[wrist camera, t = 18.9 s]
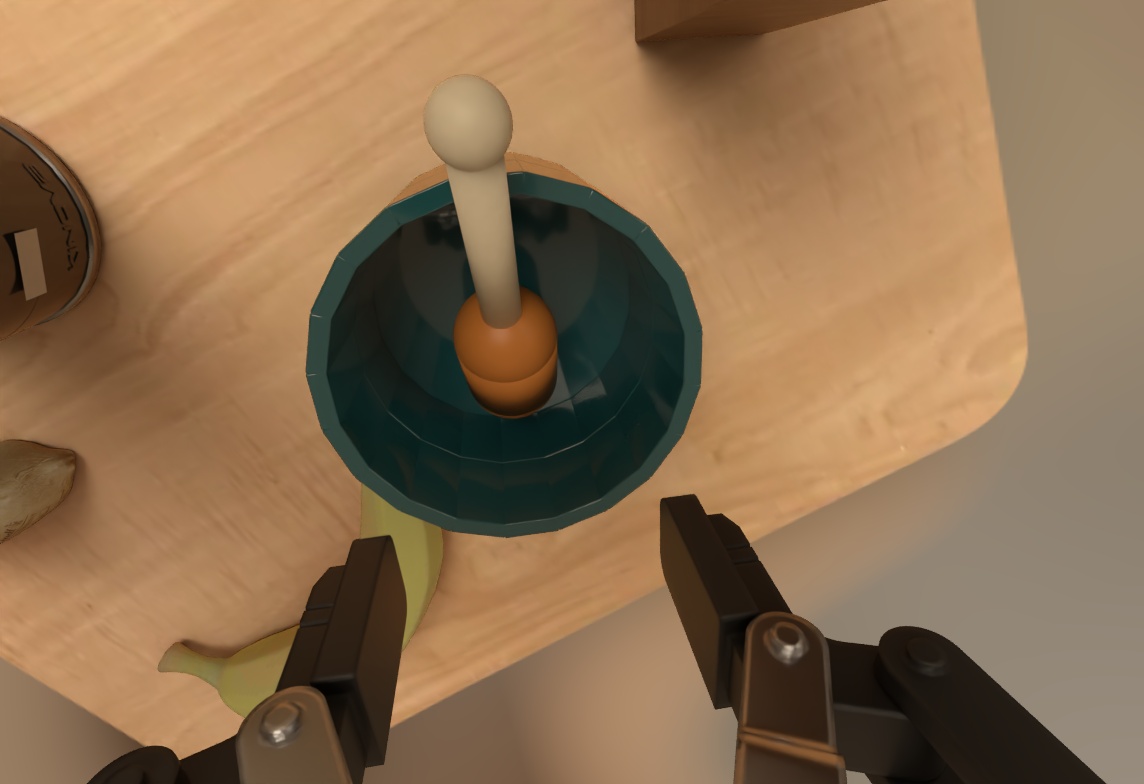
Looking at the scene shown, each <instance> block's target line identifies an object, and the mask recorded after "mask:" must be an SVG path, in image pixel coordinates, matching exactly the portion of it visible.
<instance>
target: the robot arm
mask: <svg viewBox="0 0 1144 784" xmlns="http://www.w3.org/2000/svg"><path fill="white" fill-rule="evenodd" d="M100 260H101V240H100V233H99V229H98V225H97V221H96V218H95V215H94V212H93V210H92V208H91V205H90V203H89V201H88V199H87V197H86V195H85V194H84V192H83V190H82V188H81V187H80V185H79V184H78V182H77V181H76V179H75V178H74V177H73V175H72V174H71V173H70V172H69V170H68V169H67V168H66V167H65V166H64V164H63V163H62V162H61V161H60V160H59V159H58V158H57V157H56V156H55V155H54V154H53V153H52V152H51V151H50V150H49V149H48V148H47V147H45V146H44V145H43V144H42V143H40V142H39V141H38V140H37V139H36V138H34V137H33V136H31V135H30V134H29V133H27V132H26V131H24V130H23V129H21V128H19V127H18V126H16V125H15V124H13V123H11V122H9V121H7V120H6V119H4V118H2V117H0V341H2V340H4V339H6V338H8V337H10V336H12V335H14V334H17V333H19V332H21V331H23V330H25V329H27V328H29V327H31V326H35V325H39V324H42V323H44V322H47V321H49V320H51V319H54V318H56V317H58V316H60V315H62V314H64V313H66V312H67V311H69V310H70V309H72V308H73V307H75V306H76V305H77V304H78V303H79V302H80V301H81V300H82V299H83V298H84V297H85V296H86V295H87V293H88V292H89V290H90V289H91V287H92V285H93V283H94V281H95V279H96V276H97V274H98V270H99V266H100ZM660 555H661V563H662V569H663V573H664V577H665V580H666V583H667V586H668V588H669V591H670V593H671V596H672V599H673V601H674V604H675V606H676V609H677V612H678V614H679V617H680V619H681V622H682V624H683V627H684V630H685V632H686V635H687V637H688V640H689V642H690V645H691V648H692V651H693V653H694V656H695V658H696V661H697V663H698V666H699V669H700V672H701V674H702V677H703V679H704V682H705V684H706V687H707V689H708V692H709V695H710V697H711V700H712V702H713V705H714V708H715V709H721V708H727V707H732V709H733V711H734V714H735V716H736V718H737V721H738V730H737V743H736V756H735V770H734V783H733V784H847V777H846V770H849V771H855V772H860V773H865V775H866V776H867V777H868V779H869V780H870V781H871V783H872V784H1106V783H1105V782H1104V781H1103V780H1102V779H1101V778H1099V777H1098V776H1097V775H1096V774H1095V773H1094V772H1093V771H1092V770H1091V769H1090V768H1089V767H1088V766H1087V765H1085V764H1084V763H1083V762H1082V761H1081V760H1080V759H1079V758H1078V757H1077V756H1076V755H1075V754H1073V753H1072V752H1071V751H1070V750H1069V749H1068V748H1067V747H1066V746H1065V745H1064V744H1063V743H1062V742H1061V741H1059V740H1058V739H1057V738H1056V737H1055V736H1054V735H1053V734H1052V733H1051V732H1050V731H1049V730H1047V729H1046V728H1045V727H1044V726H1043V725H1042V724H1041V723H1040V722H1039V721H1038V720H1037V719H1036V718H1035V717H1033V716H1032V715H1031V714H1030V713H1029V712H1028V711H1027V710H1026V709H1025V708H1024V707H1022V706H1021V705H1020V704H1019V703H1018V702H1017V701H1016V700H1015V699H1014V698H1013V697H1011V695H1009V693H1007V692H1006V691H1005V690H1004V689H1003V688H1002V687H1001V686H1000V685H999V684H998V683H996V682H995V681H994V680H993V679H992V678H991V677H990V676H989V675H988V674H987V673H986V672H985V671H983V670H982V669H981V668H980V667H979V666H978V665H977V664H976V663H975V662H974V661H973V660H972V659H970V657H968V656H967V655H966V654H965V653H964V652H963V651H962V650H961V649H960V648H959V647H957V646H956V645H955V644H954V643H953V642H951V641H950V640H948V639H946V638H945V637H943V636H941V635H939V634H937V633H935V632H932V631H930V630H927V629H923V628H919V627H913V626H902V627H896V628H893V629H890V630H888V631H887V632H885V633H884V634H883V636H882V637H881V639H880V642H879V646H873V645H865V644H857V643H848V642H841V641H836V640H832V639H828V638H826V637H824V636H823V634H822V633H821V632H820V630H819V629H818V628H817V627H815V626H814V625H813V624H812V623H810V622H809V621H807V620H806V619H804V618H802V617H799V616H797V615H794V614H793V613H792V612H791V611H790V609H789V607H788V606H787V604H786V602H785V601H784V599H783V597H782V596H781V594H780V592H779V591H778V589H777V587H776V586H775V584H774V583H773V581H772V579H771V578H770V576H769V575H768V573H767V571H766V569H765V568H764V566H763V564H762V563H761V561H759V560H758V556H757V555H756V553H755V551H754V550H753V548H752V547H750V543H749V542H748V540H747V538H746V537H745V535H744V533H743V532H742V530H741V528H740V527H739V526H738V525H736V524H735V523H734V522H732V521H731V520H730V519H728V518H727V517H726V516H724V515H723V514H722V513H720V514H713V515H707V514H706V513H705V511H704V509H703V507H702V505H701V504H700V502H699V500H698V498H697V496H696V495H695V494H690V495H683V496H675V497H668V498H662V499H661V502H660ZM406 618H407V597H406V590H405V585H404V581H403V577H402V573H401V569H400V565H399V561H398V557H397V553H396V549H395V545H394V542H393V539H392V537H391V536H390V535H384V536H377V537H370V538H362V539H355V540H354V541H353V542H352V545H351V548H350V551H349V554H348V558H347V561H346V564H345V565H343V566H336V567H330V568H329V569H328V570H327V571H326V572H325V573H324V574H323V576H322V577H321V578H320V579H319V580H318V581H317V583H316V584H315V585H314V586H313V588H312V591H311V593H310V596H309V599H308V602H307V605H306V611H304V613H303V616H302V618H301V621H300V628H298V629H297V632H296V635H295V638H294V641H293V643H292V646H291V649H290V652H289V654H288V657H287V660H286V663H285V665H284V668H283V671H282V674H281V677H280V679H279V682H278V685H277V688H276V690H275V693H274V694H272V695H271V696H269V697H267V698H266V699H264V700H263V701H262V702H260V703H259V704H258V705H257V706H256V707H255V708H254V709H253V710H252V711H251V712H250V713H249V714H248V715H247V717H246V718H245V719H244V721H243V722H242V724H241V726H240V728H239V730H238V733H237V734H236V735H234V736H233V737H231V738H229V739H227V740H225V741H223V742H221V743H218V744H216V745H214V746H211V747H209V748H207V749H205V750H202V751H200V752H198V753H195V754H193V755H191V756H188V757H186V758H184V759H182V760H178V758H177V756H176V754H175V753H174V752H173V751H172V750H171V749H169V748H167V747H164V746H147V747H143V748H139V749H137V750H134V751H132V752H129V753H127V754H125V755H123V756H121V757H119V758H118V759H116V760H114V761H113V762H111V763H110V764H108V765H107V766H106V767H105V768H103V769H102V770H101V771H100V772H98V773H97V774H96V775H95V776H94V777H93V778H92V779H91V780H90V781H89V782H88V783H87V784H362V782H363V776H364V770H365V768H367V767H372V766H378V765H384V761H385V754H386V748H387V741H388V735H389V729H390V722H391V716H392V709H393V703H394V696H395V690H396V683H397V677H398V671H399V664H400V658H401V651H402V645H403V638H404V632H405V625H406Z"/></svg>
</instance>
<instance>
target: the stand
mask: <svg viewBox="0 0 1144 784" xmlns="http://www.w3.org/2000/svg"><path fill="white" fill-rule="evenodd" d="M882 1H886V0H635V40H636V42H646V41H661V40H676V39H691V38H706V37H721V36H736V35H751V34H765V33H769V32H773V31H776V30H780V29H784V28H787V27H791V26H795V25H798V24H802V23H806V22H809V21H813V20H817V19H820V18H824V17H828V16H831V15H835V14H839V13H842V12H846V11H850V10H853V9H857V8H860V7H864V6H868V5H871V4H875V3H879V2H882Z"/></svg>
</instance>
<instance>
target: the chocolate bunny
mask: <svg viewBox="0 0 1144 784" xmlns="http://www.w3.org/2000/svg"><path fill="white" fill-rule="evenodd" d="M75 468H76V467H75V455H74V453H73V452H72V451H69V450H66V449H53V448H47V447H44V446H42V445H38V444H35V443H33V442H24V441H20V440H7V441H2V442H0V544H1V543H3V542H5V541H7V540H9V539H10V538H12V537H14V536H16V535H17V534H19V533H20V532H22V531H24V530H25V529H27V528H28V527H30V526H31V525H33V524H34V523H36V522H37V521H39V520H40V519H41V518H43V517H44V516H45V515H47V514H48V513H49V512H51V511H52V510H53V509H54V508H56V507H57V506H58V505H59V504H60V503H61V502H62V501H63V500H64V499H65V498H66V497H67V495H68V494H69V492H70V490H71V488H72V485H73V476H74V472H75Z"/></svg>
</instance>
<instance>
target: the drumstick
mask: <svg viewBox="0 0 1144 784" xmlns="http://www.w3.org/2000/svg"><path fill="white" fill-rule="evenodd" d="M424 128H425V133H426V136H427V139H428V142H429V144H430V145H431V147H432V149H433V150H434V152H435V153H436V154H437V155H438V156H439V157H440V158H441V159H442V160H443V161H444V162H445V165H446V169H447V173H448V178H449V182H450V186H451V190H452V194H453V199H454V203H455V207H456V211H457V215H458V219H459V224H460V228H461V232H462V236H463V240H464V245H465V249H466V253H467V257H468V261H469V266H470V270H471V274H472V278H473V282H474V286H475V291H476V292H475V293H474V294H473V295H472V296H470V297H469V298H468V299H467V300H466V301H465V303H464V304H463V305H462V306H461V308H460V310H459V312H458V314H457V317H456V320H455V324H454V328H453V339H454V346H455V350H456V353H457V356H458V359H459V362H460V364H461V367H462V370H463V373H464V376H465V378H466V381H467V384H468V387H469V390H470V392H471V394H472V396H473V397H474V399H475V400H476V401H477V403H478V404H479V405H480V406H481V407H482V408H483V409H484V410H486V411H488V412H489V413H491V414H493V415H496V416H498V417H501V418H507V419H518V418H523V417H527V416H529V415H531V414H534V413H535V412H537V411H538V410H540V409H541V408H542V407H543V406H544V405H545V404H546V403H547V402H548V401H549V399H550V398H551V396H552V394H553V392H554V389H555V386H556V382H557V328H556V324H555V320H554V316H553V314H552V312H551V310H550V308H549V307H548V306H547V304H546V303H545V302H544V301H543V299H542V298H541V297H539V296H538V295H537V294H536V293H535V292H533V291H531V290H529V289H527V288H525V287H523V286H519V281H518V272H517V263H516V254H515V245H514V236H513V227H512V218H511V210H510V201H509V192H508V183H507V174H506V165H505V156H504V154H505V152H506V150H507V148H508V146H509V144H510V141H511V138H512V131H513V120H512V115H511V111H510V108H509V105H508V103H507V101H506V99H505V98H504V96H503V95H502V93H501V92H500V91H499V90H498V89H497V88H496V87H495V86H494V85H493V84H491V83H490V82H488V81H487V80H485V79H483V78H481V77H478V76H474V75H456V76H453V77H450V78H448V79H446V80H444V81H443V82H441V83H440V84H439V85H438V86H437V87H436V88H435V89H434V90H433V91H432V93H431V94H430V96H429V98H428V100H427V103H426V106H425V110H424Z"/></svg>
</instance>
